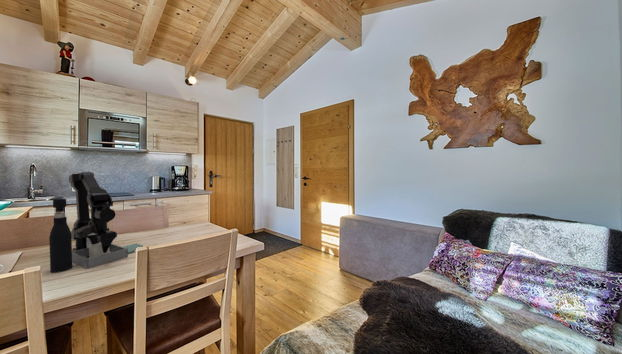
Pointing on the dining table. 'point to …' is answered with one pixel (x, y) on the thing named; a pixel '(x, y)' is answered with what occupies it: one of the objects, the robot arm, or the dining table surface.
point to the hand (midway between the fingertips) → (99, 250)
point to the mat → (132, 247)
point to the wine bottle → (60, 240)
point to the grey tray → (80, 256)
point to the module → (96, 250)
